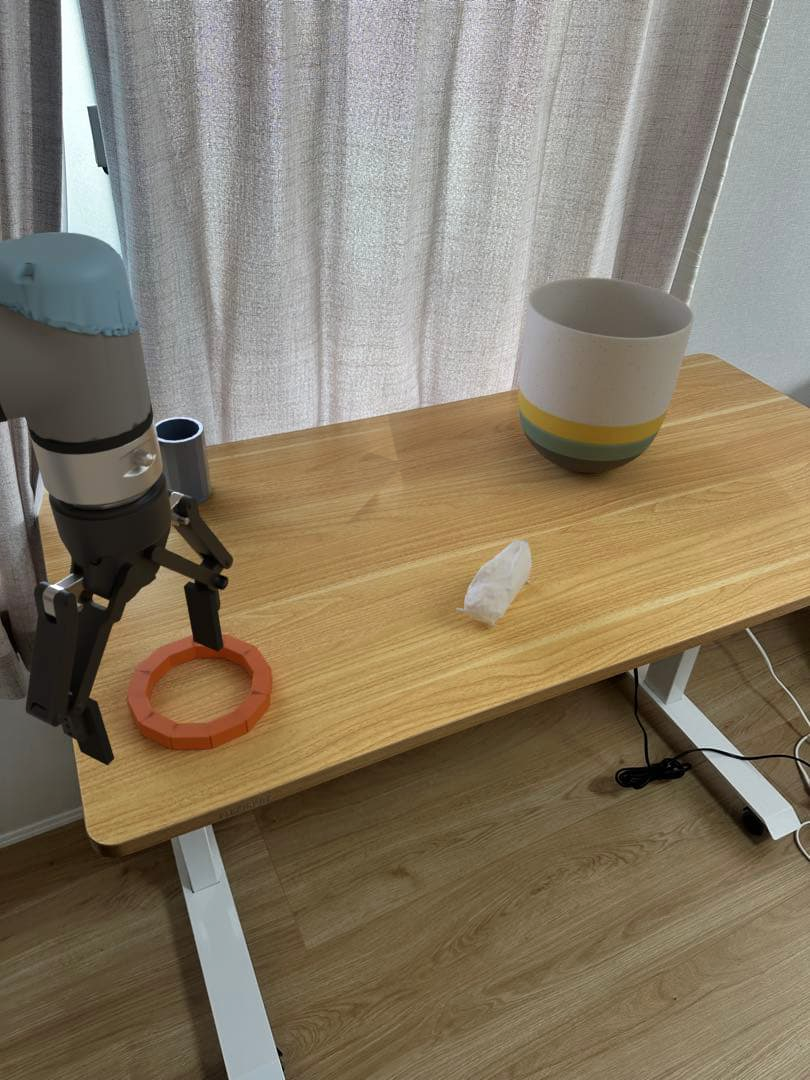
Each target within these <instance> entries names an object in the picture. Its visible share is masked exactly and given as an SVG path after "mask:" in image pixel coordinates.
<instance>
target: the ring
mask: <svg viewBox="0 0 810 1080" xmlns="http://www.w3.org/2000/svg"><path fill="white" fill-rule="evenodd" d="M222 639H223V646H224V647H223V648H222V649H221V650H220V651H219V652H217V651H215V650H213V649H210V648H208V647H206V646H203V645H201V644H198V643H196V642H194V640H193V635H188V636H185V637H183V638H180V639H178V640H174V641H172V642H170V643H167V644H164V645H162V646H159V647H158V648H156V650H154V651H153V652H152V653H151V654H150V655H149V656H148V657H147V658H145V660H143V661H142V662H141V663H140V664H139V665H138V666H137V667H136V668H135V669H134V670H133V673H132V676H131V677H132V678H131V681H130V684H129V688H128V691H127V695H126V701H127V705H128V709H129V712H130V714H131V717H132V718H133V720H134V722H135V724H136V727H137V729H138V730H139V733H140V734H141V735H142V736H143V737H146V738H147V739H150V740H152V741H153V742H155V743H158V744H159V745H162V746H164V747H165V748H167V749H170V750H173V751H179V750H180V751H182V750H183V751H186V750H211V749H215V748H218V747H219V746H221V745H224V744H226V743H228V742H230V741H233V740H236V739H237V738H240V737H242V736H244V735H246V734H247V733H249V732H250V731H251V730H252V729H253V728H254V727H255V725H256V724H257V723H258V722H259V720H260V719H261V718H262V717H263V716H264V714H265V713H266V712H267V711H268V710H269V709H270V706H271V698H272V697H271V696H272V687H273V672H272V667H271V666H270V664H269V663H268V662H267V660H266V658H265V657H264V656H263V655H262V653H261V651H260V650H259V649H258V647H257V646H256V645H254V644H251V643H249V642H247V641H244V640H242V639H239V638H237V637H235V636H232V635H230V634H227V633H226V634H225V633H224V634H223V633H222ZM216 658H217V659H225V660H227V661H230V662H231V663H235V665H236V664H237V665H239V666H241V667H244V669H245V671H246V672H247V674H248V675H249V677H250V679H251V680H252V682H251V688H250V689H251V690H250V692H249V694H248V695H247V696H246V697H245V698H244V699H243V701H242V702H241V703H240V704H239V705H238V706H237V708H235V709H234V710H233V711H232V712H229V713H227V714H225V715H222V716H220V717H218V718H215V719H213V720H210V721H208V722H180V723H179V722H176V721H174V720H172V719H170V718H167V717H166V716H164V715H161V714H160V713H158V712H156V711H155V709H154V707H153V704H152V703H151V701H150V700H151V697H152V693H153V689H154V685H155V684H157V682H158V681H160V680H161V679H162V678H163V677H164V676H165V675H166V674H167V673H168V672H169V671H170V670H171V669H172V668H174V667H177V666H179V665H182V664H185V663H187V662H190V661H192V660H193V661H194V660H195V659H216Z"/></svg>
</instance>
